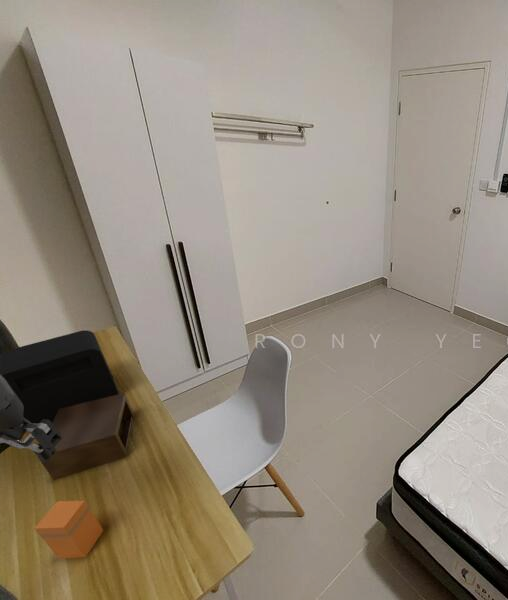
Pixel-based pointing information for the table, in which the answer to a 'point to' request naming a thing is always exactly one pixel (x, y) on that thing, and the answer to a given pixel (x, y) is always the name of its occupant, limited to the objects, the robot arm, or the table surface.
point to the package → (70, 529)
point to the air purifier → (57, 374)
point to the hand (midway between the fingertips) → (21, 455)
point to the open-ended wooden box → (90, 435)
